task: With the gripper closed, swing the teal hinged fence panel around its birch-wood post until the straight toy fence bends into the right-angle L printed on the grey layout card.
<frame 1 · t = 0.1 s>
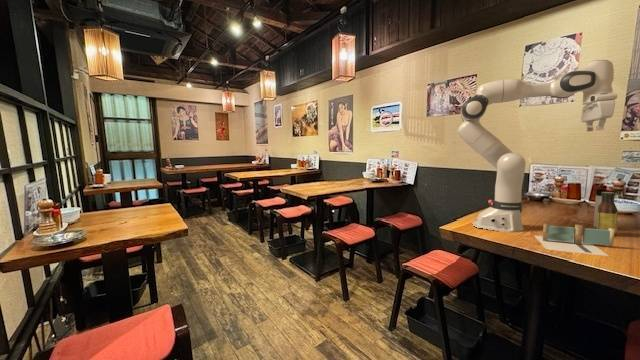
hand: (594, 130, 115), 48 cm above the table, tool pointing down, fingers open, 8 cm apart
fixed fence: (577, 243, 108), resting on layout card
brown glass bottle: (602, 229, 128), on the table
layout card: (567, 245, 108), on the table
sauce bottle: (605, 235, 119), on the table
hinged panel: (598, 235, 105), point 5 cm above the table, hinge at 0.0°
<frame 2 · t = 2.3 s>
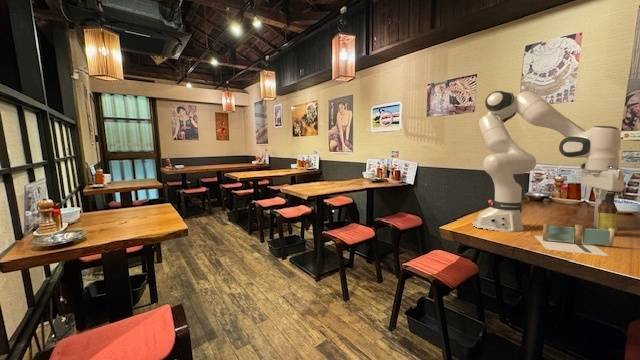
hand: (599, 199, 106), 19 cm above the table, tool pointing down, fingers closed
nothing on the table moved.
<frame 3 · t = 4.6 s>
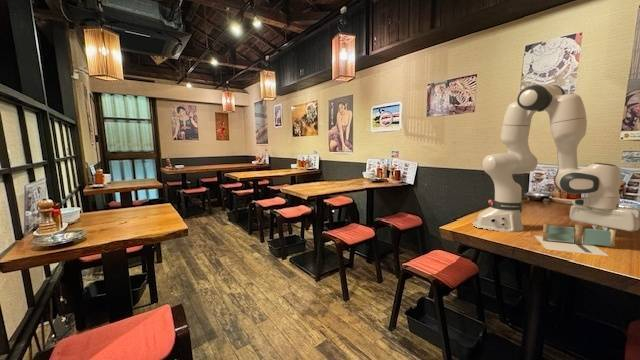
hand: (600, 236, 106), 4 cm above the table, tool pointing down, fingers closed
hinged panel: (599, 236, 104), point 5 cm above the table, hinge at -6.1°, touching gripper
everything else where it was.
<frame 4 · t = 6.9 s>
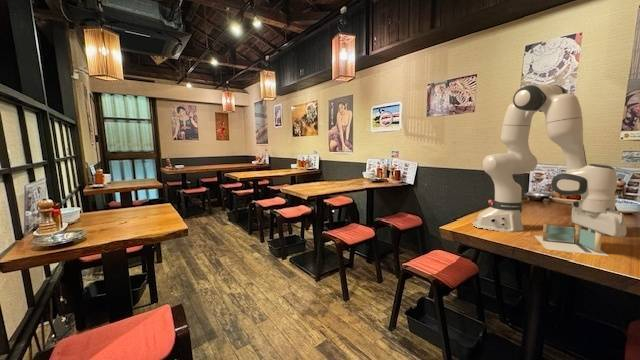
hand: (595, 240, 101), 4 cm above the table, tool pointing down, fingers closed, pressing on hinged panel
hinged panel: (590, 238, 102), point 5 cm above the table, hinge at -73.9°, touching gripper
everything else where it was.
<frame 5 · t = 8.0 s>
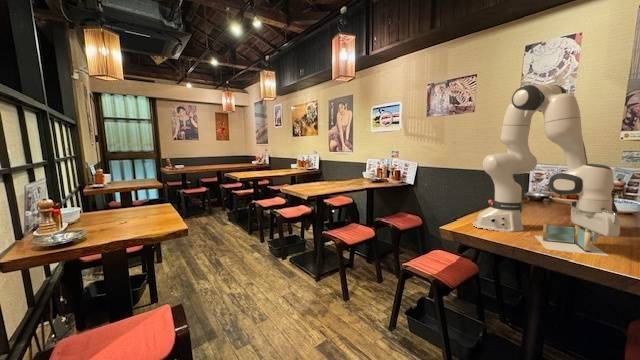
hand: (592, 240, 101), 4 cm above the table, tool pointing down, fingers closed
hinged panel: (583, 238, 102), point 5 cm above the table, hinge at -92.6°
everything else where it was.
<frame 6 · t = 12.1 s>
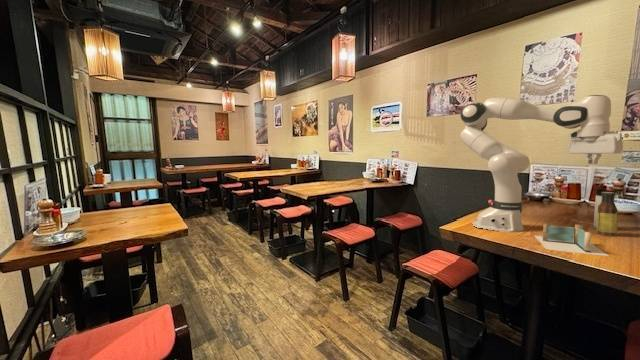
hand: (592, 164, 115), 33 cm above the table, tool pointing down, fingers closed
nothing on the table moved.
at the end: hinged panel at -92° (first picture: +0°) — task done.
